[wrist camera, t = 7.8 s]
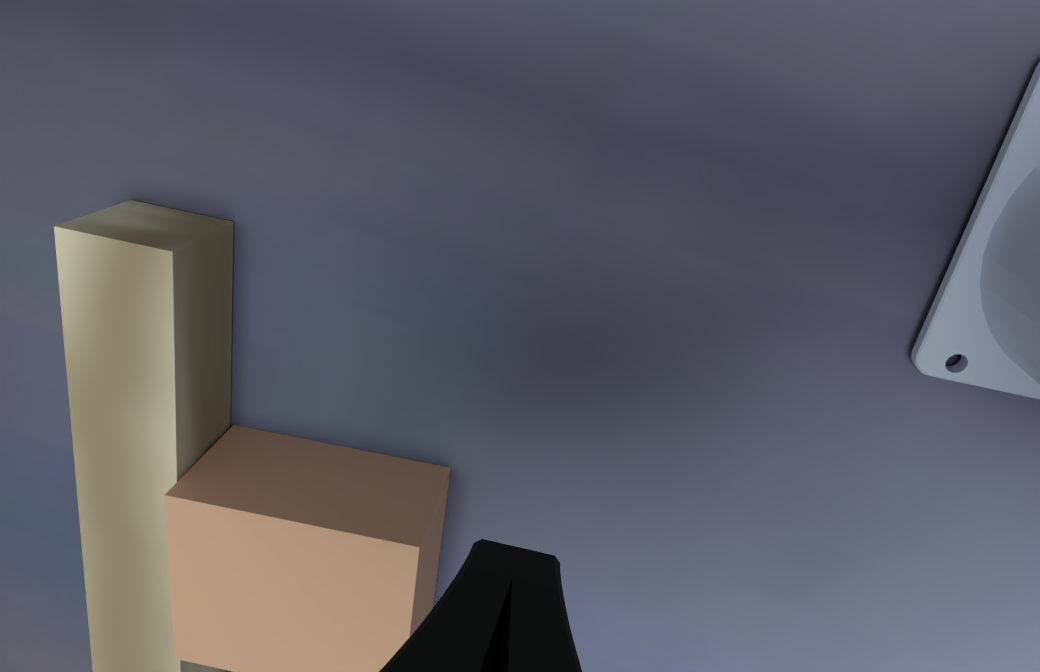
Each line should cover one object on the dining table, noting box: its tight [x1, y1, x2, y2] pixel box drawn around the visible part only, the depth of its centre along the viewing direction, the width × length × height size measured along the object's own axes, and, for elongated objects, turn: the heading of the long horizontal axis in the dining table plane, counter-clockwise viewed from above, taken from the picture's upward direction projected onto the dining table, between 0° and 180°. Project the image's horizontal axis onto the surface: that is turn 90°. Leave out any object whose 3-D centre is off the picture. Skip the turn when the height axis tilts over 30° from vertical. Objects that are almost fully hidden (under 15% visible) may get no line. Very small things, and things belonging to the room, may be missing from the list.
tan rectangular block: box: [164, 425, 451, 672], centre depth 22 cm, size 7×6×4 cm
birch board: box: [54, 200, 234, 672], centre depth 23 cm, size 3×20×3 cm, turn 170°
